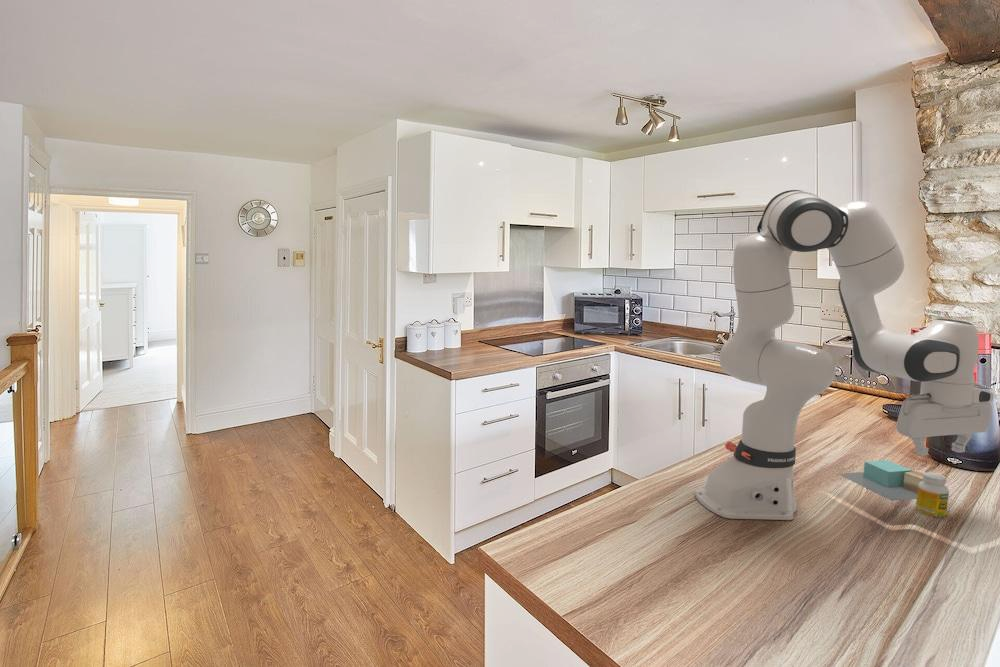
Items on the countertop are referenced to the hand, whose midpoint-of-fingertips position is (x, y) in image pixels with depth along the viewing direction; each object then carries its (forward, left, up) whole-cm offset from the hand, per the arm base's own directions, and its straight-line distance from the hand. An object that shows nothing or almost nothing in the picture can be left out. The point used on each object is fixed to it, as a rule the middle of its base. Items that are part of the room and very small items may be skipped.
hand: (939, 453), depth 116 cm
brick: (+8, +10, -14) cm, 18 cm away
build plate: (+4, +14, -15) cm, 21 cm away
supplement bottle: (0, 0, -15) cm, 15 cm away
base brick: (+4, +16, -14) cm, 22 cm away
